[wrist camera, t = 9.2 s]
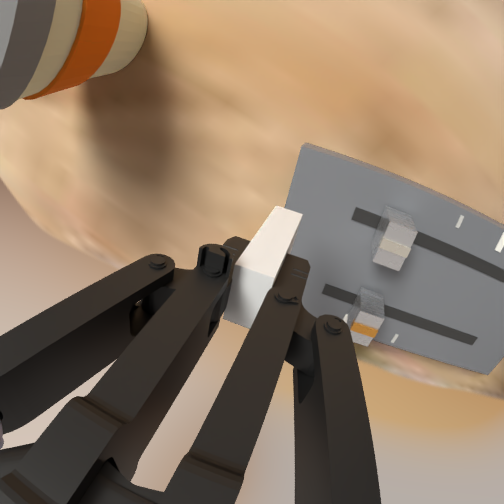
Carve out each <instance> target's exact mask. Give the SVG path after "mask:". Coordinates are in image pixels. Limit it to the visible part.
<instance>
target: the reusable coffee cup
mask: <svg viewBox="0 0 504 504" xmlns="http://www.w3.org/2000/svg"><path fill="white" fill-rule="evenodd" d="M147 26H148V17H147V11H146V8H145V6H144V4H143V2H142V1H141V0H0V109H5V108H7V107H9V106H11V105H12V104H13V103H14V102H15V101H16V100H18V99H21V98H23V99H25V100H30V99H36V98H39V97H42V96H45V95H48V94H51V93H54V92H57V91H61V90H64V89H68V88H71V87H74V86H78V85H80V84H81V83H83V82H85V81H86V80H88V79H89V78H94V77H98V76H103V75H107V74H112V73H115V72H117V71H119V70H121V69H123V68H124V67H125V66H127V65H128V64H129V63H130V62H131V61H132V60H133V59H134V57H135V56H136V55H137V53H138V52H139V50H140V48H141V46H142V44H143V42H144V39H145V36H146V32H147Z"/></svg>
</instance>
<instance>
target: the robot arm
mask: <svg viewBox="0 0 504 504" xmlns="http://www.w3.org/2000/svg"><path fill="white" fill-rule="evenodd" d="M302 215H303V214H300V213H297V212H294V211H291V210H288V209H285V208H282V207H279V206H275V208H274V209H273V211H272V212H271V213H270V215H269V216H268V218H267V219H266V221H265V222H264V223H263V225H262V226H261V228H260V229H259V230H258V232H257V233H256V235H255V236H254V238H253V239H252V240H251V241H248V240H245V239H242V238H240V237H237V236H235V237H232V238H230V239H228V240H227V241H226V242H225V243H224V244H223V246H222V245H218V244H206V245H203V246H201V247H200V248H199V254H198V261H197V266H196V267H195V268H194V270H186V269H179V268H175V263H174V260H172V259H171V258H170V257H168V256H166V255H162V254H151V255H148V256H145V257H143V258H141V259H139V260H137V261H135V262H133V263H132V264H130V265H128V266H126V267H124V268H122V269H120V270H118V271H116V272H114V273H113V274H111V275H109V276H107V277H105V278H103V279H101V280H99V281H98V282H96V283H94V284H92V285H90V286H88V287H86V288H84V289H83V290H81V291H79V292H77V293H75V294H74V295H72V296H70V297H68V298H66V299H64V300H63V301H61V302H59V303H57V304H55V305H54V306H52V307H50V308H48V309H46V310H45V311H43V312H41V313H39V314H38V315H36V316H34V317H32V318H31V319H29V320H27V321H26V322H24V323H22V324H20V325H19V326H17V327H15V328H14V329H12V330H10V331H8V332H7V333H5V334H3V335H2V336H0V449H1V448H2V446H3V444H4V441H3V438H2V436H3V434H6V433H9V432H11V431H14V430H16V429H18V428H20V427H22V426H24V425H25V424H27V423H29V422H30V421H32V420H33V419H35V418H36V417H37V416H39V415H40V414H42V413H43V412H44V411H46V410H47V409H49V408H50V407H51V406H53V405H54V404H55V403H57V402H58V401H60V400H61V399H62V398H64V397H65V396H67V395H68V394H69V393H71V392H72V391H73V390H75V389H76V388H78V387H79V386H80V385H82V384H83V383H84V382H86V381H87V380H89V379H90V378H91V377H93V376H94V375H95V374H97V373H98V372H100V371H101V370H102V369H104V368H105V367H106V366H108V365H109V364H110V363H112V362H113V361H115V360H116V359H117V358H118V359H117V360H116V361H115V362H114V363H113V365H112V366H111V367H110V368H109V370H108V371H107V372H106V373H105V374H104V376H103V377H102V378H101V379H100V380H99V382H98V383H97V384H96V385H95V387H94V388H93V389H92V390H91V392H90V393H89V394H88V395H87V396H85V397H79V396H77V397H74V398H72V399H71V400H70V401H69V402H68V403H67V404H66V405H65V406H64V407H63V409H62V410H61V411H60V412H59V413H58V415H57V416H56V417H55V418H54V420H53V421H52V422H51V423H50V425H49V426H48V427H47V428H46V430H45V431H44V432H43V433H42V435H41V436H40V437H39V438H38V440H37V441H36V442H35V443H31V444H26V445H22V446H17V447H12V448H7V449H2V450H0V504H235V501H236V499H237V496H238V494H239V491H240V489H241V486H242V483H243V480H244V473H245V470H246V468H247V465H248V462H249V460H250V457H251V454H252V452H253V449H254V446H255V444H256V441H257V438H258V436H259V433H260V430H261V427H262V424H263V422H264V419H265V416H266V413H267V410H268V407H269V405H270V402H271V399H272V396H273V393H274V390H275V387H276V384H277V381H278V378H279V375H280V372H281V369H282V365H283V363H284V360H285V361H286V362H288V363H289V364H291V365H293V366H294V368H293V385H294V426H295V427H294V430H295V504H381V498H380V489H379V482H378V475H377V467H376V460H375V454H374V448H373V441H372V435H371V429H370V423H369V418H368V412H367V407H366V402H365V397H364V391H363V386H362V381H361V377H360V372H359V367H358V362H357V358H356V353H355V349H354V344H353V340H352V336H351V331H350V329H349V326H348V325H347V324H346V322H345V321H344V320H342V319H340V318H339V317H337V316H334V315H327V314H324V315H321V316H319V317H318V318H316V317H315V316H313V315H312V314H310V313H309V312H308V311H307V310H306V309H305V308H304V306H303V304H302V296H303V293H304V289H305V286H306V282H307V279H308V275H309V271H310V268H311V267H310V264H309V262H308V260H306V259H303V258H300V257H297V256H294V255H291V254H290V253H291V250H292V247H293V244H294V241H295V237H296V234H297V231H298V228H299V225H300V222H301V218H302ZM140 300H141V301H140ZM138 301H139V302H138ZM137 302H138V303H137ZM223 312H224V316H223V319H225V320H228V321H230V322H233V323H235V324H238V325H241V326H243V327H246V328H249V329H250V330H249V332H248V334H247V336H246V338H245V340H244V343H243V345H242V347H241V349H240V351H239V353H238V355H237V357H236V359H235V361H234V363H233V365H232V367H231V369H230V371H229V373H228V375H227V378H226V379H225V381H224V384H223V386H222V388H221V390H220V392H219V394H218V396H217V398H216V400H215V402H214V404H213V406H212V408H211V410H210V412H209V414H208V415H207V418H206V419H205V421H204V423H203V425H202V427H201V429H200V431H199V433H198V435H197V437H196V439H195V441H194V443H193V445H192V447H191V449H190V450H189V452H188V453H187V454H186V455H185V456H184V457H183V459H182V460H181V462H180V464H179V465H178V467H177V469H176V471H175V473H174V475H173V477H172V478H171V480H170V482H169V484H168V486H167V488H166V490H165V491H164V492H160V491H156V490H152V489H148V488H144V487H140V486H137V485H134V484H132V483H131V482H130V481H131V479H132V478H133V476H134V474H135V471H136V469H137V465H138V461H139V459H140V457H141V455H142V453H143V452H144V450H145V449H146V447H147V445H148V444H149V442H150V440H151V439H152V437H153V435H154V434H155V432H156V430H157V429H158V427H159V425H160V423H161V422H162V420H163V419H164V417H165V415H166V414H167V412H168V410H169V409H170V407H171V405H172V403H173V402H174V400H175V399H176V397H177V395H178V394H179V392H180V390H181V389H182V387H183V385H184V383H185V382H186V380H187V379H188V377H189V375H190V374H191V372H192V370H193V369H194V367H195V365H196V363H197V362H198V360H199V358H200V357H201V355H202V353H203V352H204V350H205V348H206V347H207V345H208V343H209V341H210V340H211V338H212V337H213V335H214V333H215V332H216V330H217V328H218V326H219V322H220V317H221V316H222V314H223Z"/></svg>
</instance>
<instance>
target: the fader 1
mask: <svg viewBox="0 0 504 504" xmlns="http://www.w3.org/2000/svg"><path fill="white" fill-rule="evenodd" d="M384 319H385V318H384V299H383V295H382V294H379V293H376V292H374V291H371V290H368V289H365V288H362V287H361V289H360V291H359V293H358V295H357V297H356V299H355V301H354V303H353V305H352V307H351V309H350V311H349V313H348V315H347V325H348V326H349V329H350V331H351V336H352V340H353V342H355V343H358V344H361V345H364V346H367V347H368V345H369V344H370V342H371V341H372V339H373V338H374V337H375V336H376V334H377V333H378V329H379V328H380V326H381V324H382V323H383V321H384Z"/></svg>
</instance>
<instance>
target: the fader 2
mask: <svg viewBox="0 0 504 504" xmlns="http://www.w3.org/2000/svg"><path fill="white" fill-rule="evenodd" d="M417 233H418V232H417V230H416V227H415V225H414V222H413V220H412V218H411V215H409V214H406V213H404V212H401V211H399V210H396V209H394V208H391V207H389V206H386V207H385V209H384V212H383V214H382V217H381V219H380V222H379V224H378V227H377V229H376V231H375V234H374V236H373V239H372V241H371V244H372V262H375V263H378V264H380V265H383V266H386V267H388V268H391V269H394V270H396V271H399V270H400V268H401V266H402V264H403V262H404V260H405V258H407V257H408V254H409V252H410V250H411V246H412V244H413V242H414V239H415V237H416V235H417Z"/></svg>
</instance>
